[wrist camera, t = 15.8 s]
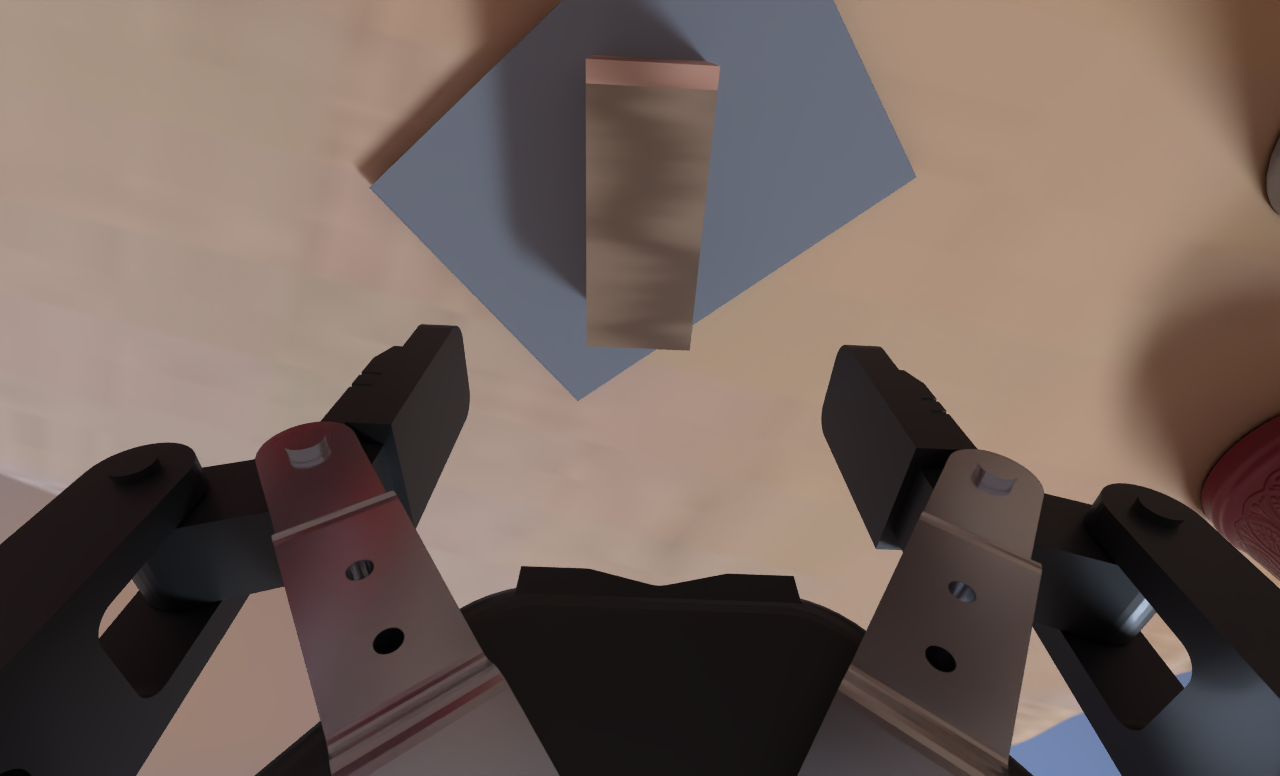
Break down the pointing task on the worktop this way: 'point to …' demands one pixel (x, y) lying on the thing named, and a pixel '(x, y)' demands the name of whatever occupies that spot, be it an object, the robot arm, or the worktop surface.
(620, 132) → the walnut block
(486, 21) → the worktop surface
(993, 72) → the worktop surface
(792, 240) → the grey mat
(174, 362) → the worktop surface
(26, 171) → the worktop surface
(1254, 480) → the canister
